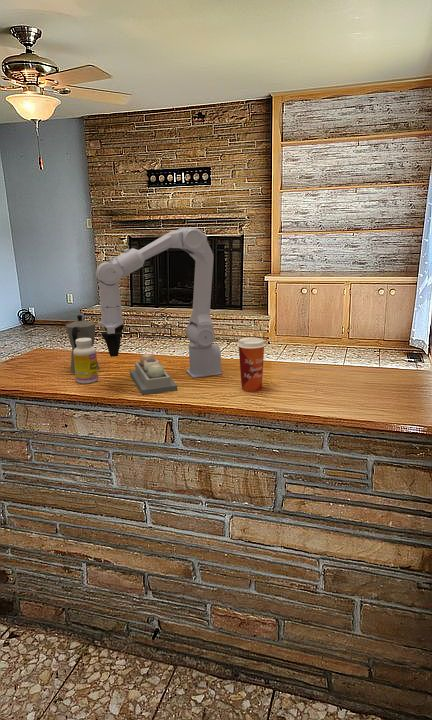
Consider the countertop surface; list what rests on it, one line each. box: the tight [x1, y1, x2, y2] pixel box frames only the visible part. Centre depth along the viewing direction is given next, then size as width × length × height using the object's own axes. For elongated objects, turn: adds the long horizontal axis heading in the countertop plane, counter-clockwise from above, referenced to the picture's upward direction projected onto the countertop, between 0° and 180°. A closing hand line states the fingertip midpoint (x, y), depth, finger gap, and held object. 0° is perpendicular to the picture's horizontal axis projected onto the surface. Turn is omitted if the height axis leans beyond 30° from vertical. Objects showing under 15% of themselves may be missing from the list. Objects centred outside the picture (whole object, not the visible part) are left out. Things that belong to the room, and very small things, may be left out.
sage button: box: [148, 363, 165, 379], centre depth 145 cm, size 4×4×3 cm
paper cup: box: [237, 336, 266, 393], centre depth 143 cm, size 8×8×14 cm
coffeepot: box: [65, 314, 100, 374], centre depth 163 cm, size 15×9×18 cm, turn 1°
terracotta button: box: [139, 353, 156, 367], centre depth 156 cm, size 4×4×3 cm
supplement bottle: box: [73, 338, 99, 384], centre depth 154 cm, size 7×7×13 cm
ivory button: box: [144, 358, 160, 373], centre depth 151 cm, size 4×4×3 cm
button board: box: [129, 361, 178, 396], centre depth 152 cm, size 10×20×4 cm, turn 19°
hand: (115, 352), depth 148 cm, fingers open, 7 cm apart
